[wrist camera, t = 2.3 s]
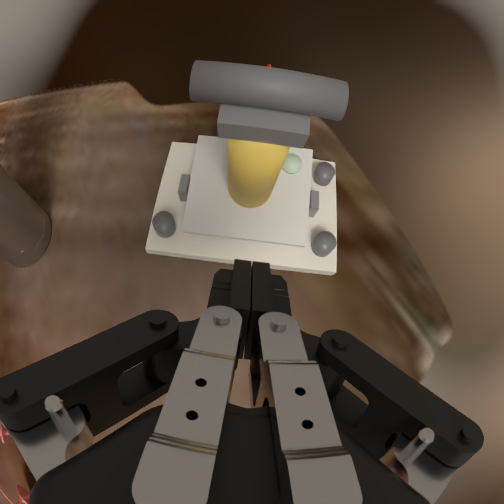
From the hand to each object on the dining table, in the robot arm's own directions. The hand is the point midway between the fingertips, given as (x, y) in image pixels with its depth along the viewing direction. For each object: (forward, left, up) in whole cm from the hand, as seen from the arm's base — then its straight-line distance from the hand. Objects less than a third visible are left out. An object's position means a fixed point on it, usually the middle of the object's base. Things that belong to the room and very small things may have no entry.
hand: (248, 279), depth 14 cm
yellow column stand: (0, +16, -20) cm, 25 cm away
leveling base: (0, +16, -24) cm, 28 cm away
